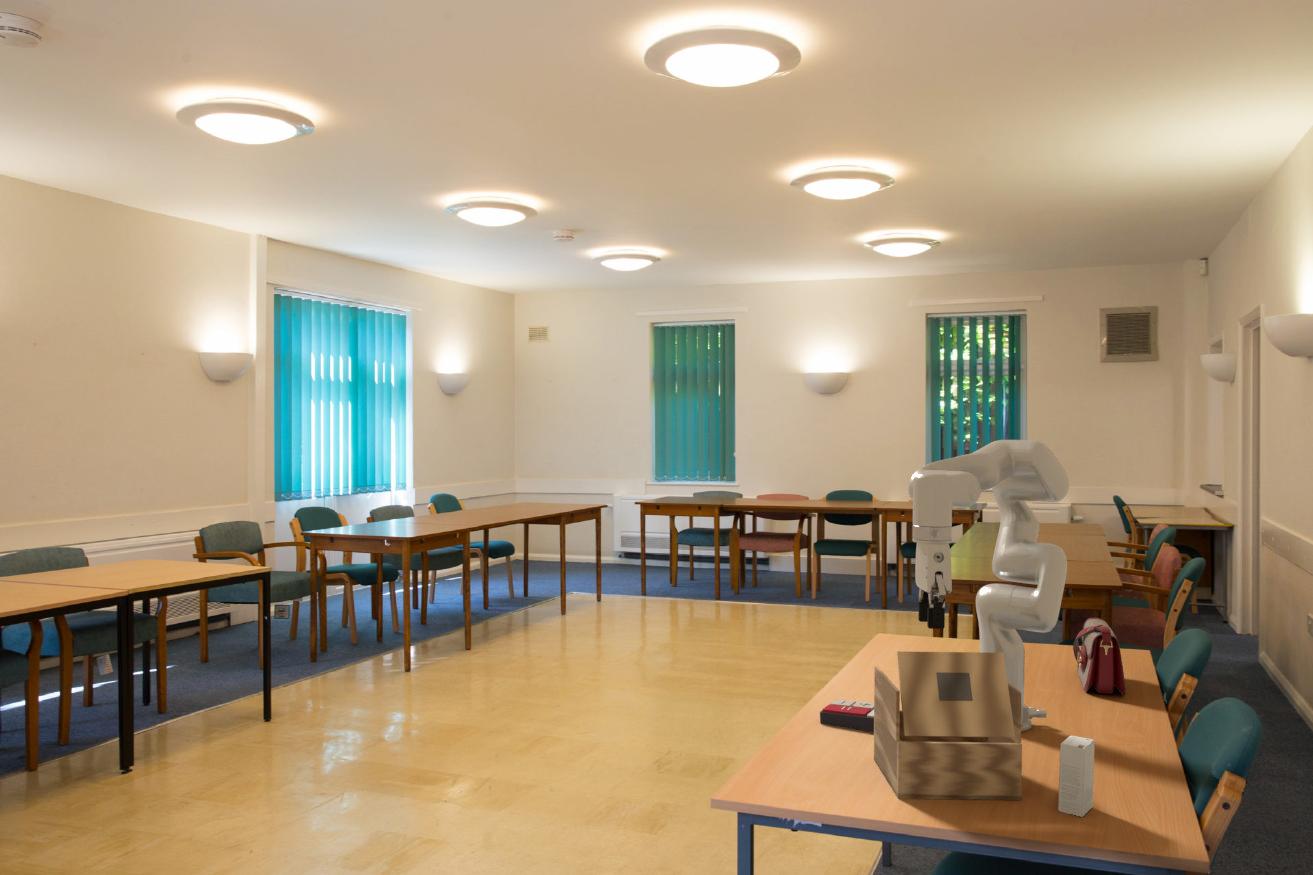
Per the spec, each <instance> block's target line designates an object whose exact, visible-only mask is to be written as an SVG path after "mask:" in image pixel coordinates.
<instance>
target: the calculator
mask: <svg viewBox="0 0 1313 875" xmlns="http://www.w3.org/2000/svg"><path fill="white" fill-rule="evenodd" d="M819 723H821V725H826V726H833V727H838V728H843V729H844V728H845V729H848V730H849V729H850V730H857V731H858V730H860V731H865V732H866V733H870V734H871V733H872V734H874V702H870V701H860V700H858V701H857V702H856V700H852V699H851V700H850V699H842V698H841V699H840V698H836V699H834V700H833V701H832V702H830V704H827V705H826V706H825V707H824V708H822V710H821V711H819Z"/></svg>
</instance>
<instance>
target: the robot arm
mask: <svg viewBox="0 0 1313 875" xmlns="http://www.w3.org/2000/svg"><path fill="white" fill-rule="evenodd" d="M1069 480H1070V479H1069V476H1068V472H1067V471H1066V469H1065V466H1063V465H1062V463H1061V461H1060V460H1059V459H1058V457H1057V456H1056V454H1055V453H1054V452H1053V450H1051V448H1049V446H1048V445H1047V444H1045V443H1044V442H1042V441H1040V440H1036V439H1035V440H1034V439H998V440H995V441H991V442H990V443H988V444H986V445H984V446H982V447H981V448H978V449H977V450H975V451H974V452H972V453H971V452H970V453H968V454H961V455H958V456H954V457H950V458H946V459H945V458H944V459H940V460H936V461H933V462H930V463H928V464H925V465H923V466H921V467H920V468H918V469H917V470H916V471H915V472H914V473H913V474H912V475H911V477H910V479H909V480H908V481H909V482H908V486H907V490H908V495H909V497H910V499H911V500H912V542H913V543H916V549H915V573H914V574H915V578H914V579H915V585H916V587H918V612H917V613H918V614H917V615H918V621H919V622H922V623H925V622H927V623H926V624H927V628H928V629H930V630H931V629H933V630H934V629H935V630H937V629H938V630H939V629H940V630H942V629H945V623H946V622H945V621H946V620H945V619H946V618H945V614H946V603H945V602H946V596H947V594H951V593H952V591H953V585H952V583H953V581H952V580H953V579H952V577H953V576H952V559H951V556H952V555H951V548H950V547H951V546H950V544H952V542H953V541H952V538H953V537H952V536H953V532H952V531H953V529H952V528H953V526H952V525H953V508H954V509H966V508H971V507H972V506H974V505H975V504H976V503H977V502H978V501H979V499H980V497H981V494H982V493H981V492H982V491H987V490H989V489H991V490H992V492H993V496H994V499H995V501H996V505H997V508H998V510H999V517H1000V521H999V522H1000V524H999V530H998V534H997V536H996V541H995V542H996V543H995V547H994V552H993V556H992V562H991V568H992V573H993V574H994V575H995V577H996V578H998V579H1000V580H1002V581H1009V582H1013V583H1014V582H1015V583H1019V584H1020V583H1021V584H1030V585H1037V586H1036V587H1030V586H1029V587H1028V586H1021V585H1015V584H1014V585H1013V584H1006V583H989V584H986V585H983V586H982V587H980V588H979V590H978V591H977V593H976V596H975V610H976V615H977V620H978V628H979V629H978V630H979V652H984V653H1003V654H1004V661H1005V668H1006V675H1007V682H1008V683H1009V684H1010V685H1012V686H1013V687H1014V688H1016V689H1017V690H1019V691H1020V692H1021V733H1022V732H1026V731H1028V730H1031V729H1032V724H1033V723H1032V719H1033V718H1037V719H1046V718H1047V710H1046V709H1045V708H1036V707H1035V706H1027V705H1026V704H1025V663H1026V662H1025V661H1026V660H1025V658H1026V657H1025V656H1026V651H1025V650H1026V649H1025V645H1024V642H1023V640H1022V638H1021V636H1020V634H1019V633H1018V632H1017V630H1021V631H1027V632H1028V631H1029V632H1035V633H1050V632H1052V631H1053V629H1054V628H1055V627H1056V625H1057V622H1058V619H1059V615H1060V610H1061V605H1062V600H1063V595H1064V590H1065V584H1066V578H1067V575H1068V574H1067V573H1068V559H1067V555H1066V553H1065V550H1063V548H1062V547H1060V546H1059V545H1056V544H1054V543H1049V542H1037V541H1038V537H1039V531H1040V522H1039V519H1038V517H1037V516H1036V515H1035V514H1036V513H1034V511H1033V510H1032V509H1031V507H1030V506H1029V505H1028V503H1027V502H1043V503H1044V502H1046V503H1056V502H1057V503H1058V502H1060V501H1062V500H1063V499H1065V498H1066V496H1067V495H1068V493H1069V489H1070V481H1069Z"/></svg>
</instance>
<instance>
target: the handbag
mask: <svg viewBox="0 0 1313 875" xmlns="http://www.w3.org/2000/svg"><path fill="white" fill-rule="evenodd" d="M1079 639H1080V640H1081V647H1080V645H1079ZM1072 645H1073V646H1072V649H1073V655H1074V658H1075V660H1076V662H1077V675H1078V677H1079V680H1080V682H1081V685H1082V688H1083V690H1084V692H1085V693H1087V692H1088V691H1089V690H1090V689H1091V688H1092V686H1093V688H1094V690H1095V692H1096V693H1098V694H1101V693H1102V695H1111V694H1113V692H1114V689H1115V688H1116V689H1117V690H1118V693H1119V692H1120V694H1121V696H1125V695H1126V681H1125V675H1124V674H1125V672H1124V667H1123V659H1122V652H1121V647H1120V643H1119V640H1118V638H1117V636H1116V635H1115V633H1114V631H1113V630H1112V628H1111V627H1110V625H1109V623H1107V621H1106V620H1104V618H1103V619H1102V618H1100V617H1088V618H1087V619H1086V620H1085V621H1084V623H1083V626H1082V630H1080V631H1079V632H1078V634H1077V635H1076V637H1075V639H1074V642H1073V644H1072Z"/></svg>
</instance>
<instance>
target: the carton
mask: <svg viewBox="0 0 1313 875" xmlns="http://www.w3.org/2000/svg"><path fill="white" fill-rule="evenodd" d="M1008 689H1009V696H1010V703H1011V710H1012V717H1013V724H1014V731H1015V737H946V736H904V725H903V714H902V709H901V708H900V706H901V704H900V703H901V693H900V689H898V687H897V686H896V685H895V684H894V683H893V682H892V681H891V679H890V678H889V677H888V676H887V675H886V674H885V672H883V670H882V669H881V668H880V667H879V666H878V665H875V666H874V689H873V690H874V694H873V695H874V696H873V698H874V700H873V703H874V733H873V760H874V762H875V764H876V766H877V767H878V769H879V771H880V772H881V773H882V775H883V777H884V778H885V780H886V782H887V783H888V785H889V786H890V788H891V789H892V791H893V793H894V794H895V796H896V798H897V799H904V800H905V799H906V800H907V799H910V800H911V799H913V800H914V799H915V800H970V801H971V800H975V801H976V800H977V801H980V800H982V801H984V800H985V801H986V800H987V801H1022V794H1023V793H1022V788H1023V787H1022V785H1023V784H1022V782H1023V781H1022V779H1023V778H1022V777H1023V776H1022V775H1023V772H1022V770H1023V768H1022V767H1023V764H1022V763H1023V744H1022V732H1021V692H1020V691H1019V690H1017V689H1016V688H1014V687H1013V686H1012V685H1010V684H1009V683H1008Z"/></svg>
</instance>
